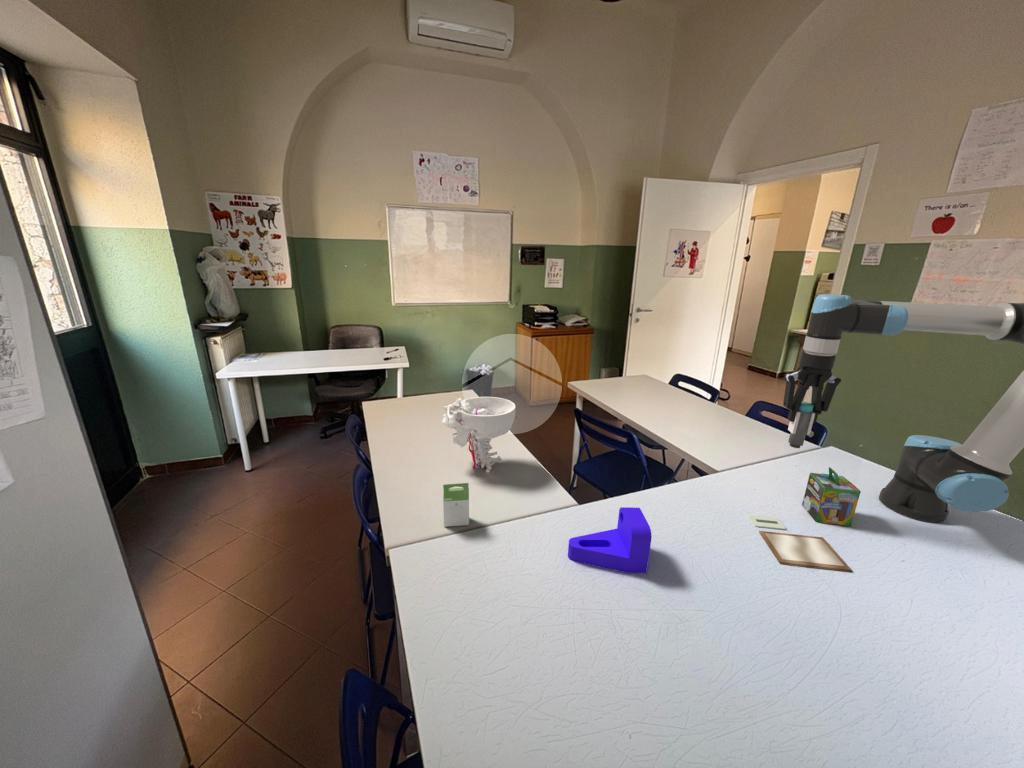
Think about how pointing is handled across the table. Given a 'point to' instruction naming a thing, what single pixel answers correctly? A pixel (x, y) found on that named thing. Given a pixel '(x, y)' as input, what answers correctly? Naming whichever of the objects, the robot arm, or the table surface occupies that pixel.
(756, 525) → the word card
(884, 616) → the table surface
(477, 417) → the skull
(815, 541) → the brown picture frame
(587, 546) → the bracket
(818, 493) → the chalk box
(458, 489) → the ink box
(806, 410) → the marker
